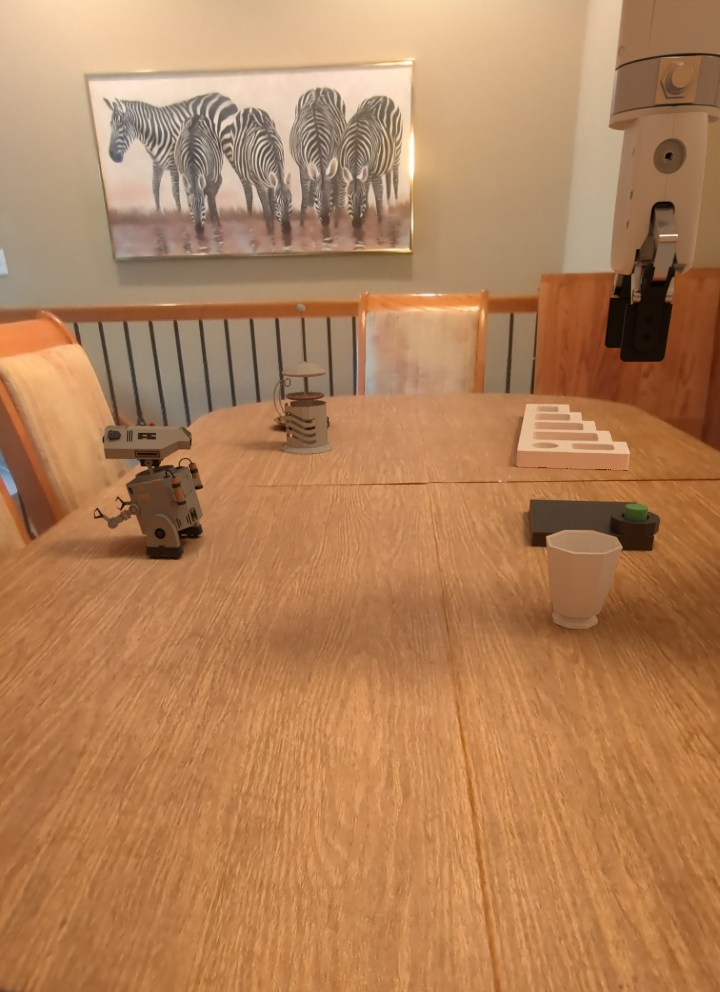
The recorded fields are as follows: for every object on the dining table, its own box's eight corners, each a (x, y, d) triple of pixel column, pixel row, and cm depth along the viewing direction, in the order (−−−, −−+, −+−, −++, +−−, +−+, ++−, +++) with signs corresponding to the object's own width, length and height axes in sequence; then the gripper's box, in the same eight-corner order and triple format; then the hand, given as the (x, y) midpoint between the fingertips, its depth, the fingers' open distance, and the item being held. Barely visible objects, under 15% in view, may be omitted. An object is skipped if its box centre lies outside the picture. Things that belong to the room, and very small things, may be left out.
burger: (272, 423, 165) (269, 387, 162) (325, 420, 167) (324, 385, 164) (276, 434, 155) (274, 396, 151) (333, 431, 156) (332, 393, 153)
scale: (640, 515, 102) (644, 490, 100) (658, 552, 89) (663, 524, 88) (528, 512, 104) (530, 487, 103) (531, 547, 92) (534, 520, 90)
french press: (314, 456, 137) (306, 305, 126) (263, 449, 142) (252, 305, 131) (343, 445, 144) (339, 302, 133) (294, 439, 150) (286, 301, 139)
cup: (528, 626, 72) (535, 547, 69) (556, 589, 80) (564, 516, 76) (602, 641, 69) (614, 558, 66) (625, 601, 77) (636, 525, 73)
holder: (525, 416, 166) (526, 403, 165) (611, 418, 162) (612, 405, 161) (515, 466, 127) (517, 450, 126) (628, 470, 123) (630, 454, 122)
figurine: (130, 533, 100) (110, 417, 93) (214, 535, 98) (201, 417, 92) (101, 558, 92) (77, 433, 85) (192, 560, 90) (175, 433, 84)
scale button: (644, 516, 92) (646, 503, 91) (648, 522, 89) (650, 510, 89) (622, 515, 92) (624, 503, 91) (625, 522, 90) (627, 509, 89)
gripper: (758, 70, 46) (704, 368, 53) (694, 116, 61) (660, 343, 69) (628, 77, 47) (595, 367, 55) (598, 121, 62) (575, 343, 70)
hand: (631, 353), depth 62 cm, fingers open, 9 cm apart
